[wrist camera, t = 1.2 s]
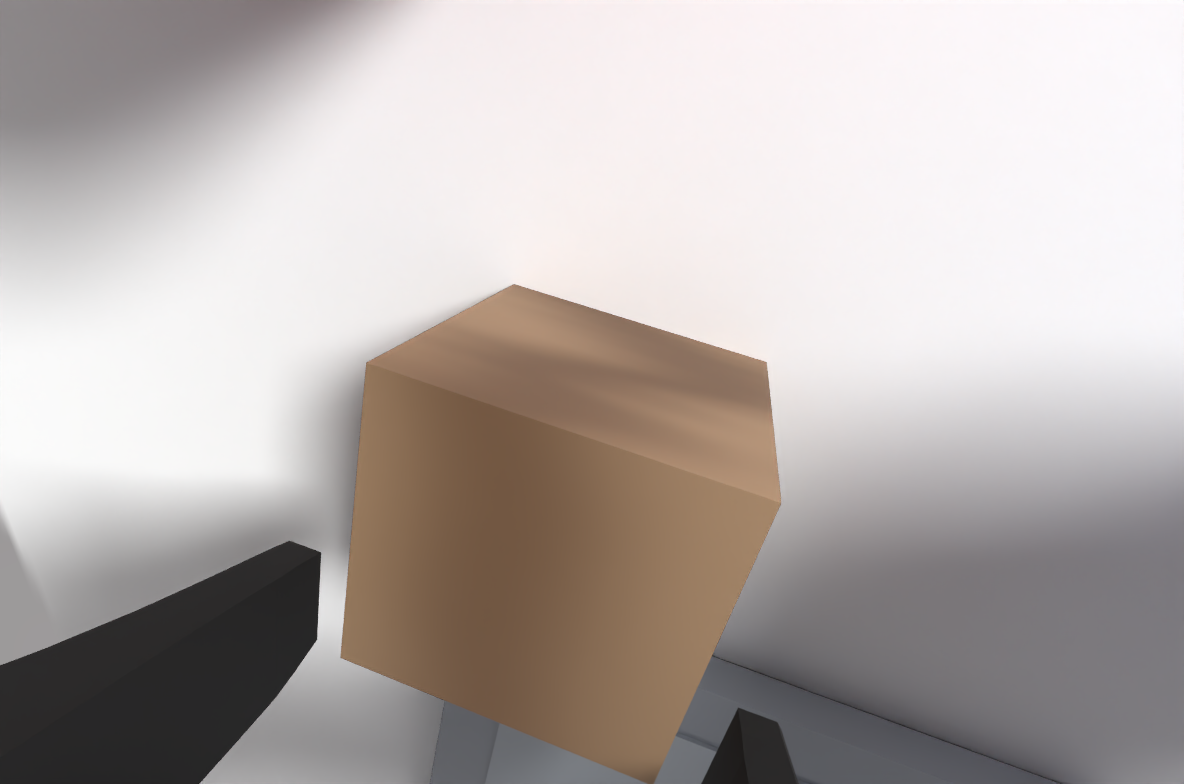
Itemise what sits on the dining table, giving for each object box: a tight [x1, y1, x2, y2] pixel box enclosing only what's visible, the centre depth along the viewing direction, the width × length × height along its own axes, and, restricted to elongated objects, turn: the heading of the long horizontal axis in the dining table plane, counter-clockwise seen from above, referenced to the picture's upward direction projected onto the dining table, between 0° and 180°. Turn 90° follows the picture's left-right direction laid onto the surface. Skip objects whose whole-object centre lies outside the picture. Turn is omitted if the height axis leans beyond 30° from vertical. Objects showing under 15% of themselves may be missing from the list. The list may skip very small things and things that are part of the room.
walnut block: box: [341, 284, 781, 784], centre depth 10 cm, size 5×5×5 cm
